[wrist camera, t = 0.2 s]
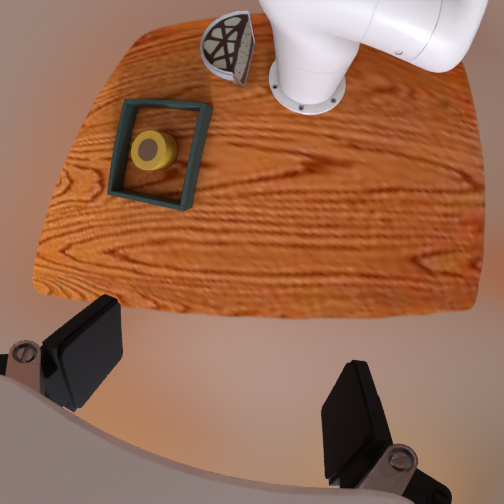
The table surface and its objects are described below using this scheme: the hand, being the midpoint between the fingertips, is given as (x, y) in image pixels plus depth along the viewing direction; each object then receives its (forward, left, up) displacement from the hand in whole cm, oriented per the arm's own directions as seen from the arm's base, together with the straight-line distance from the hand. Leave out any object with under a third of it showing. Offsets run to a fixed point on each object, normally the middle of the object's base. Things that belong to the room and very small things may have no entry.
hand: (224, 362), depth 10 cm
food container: (-25, -13, -37) cm, 46 cm away
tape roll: (-7, -22, -36) cm, 43 cm away
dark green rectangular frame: (-7, -22, -36) cm, 43 cm away
